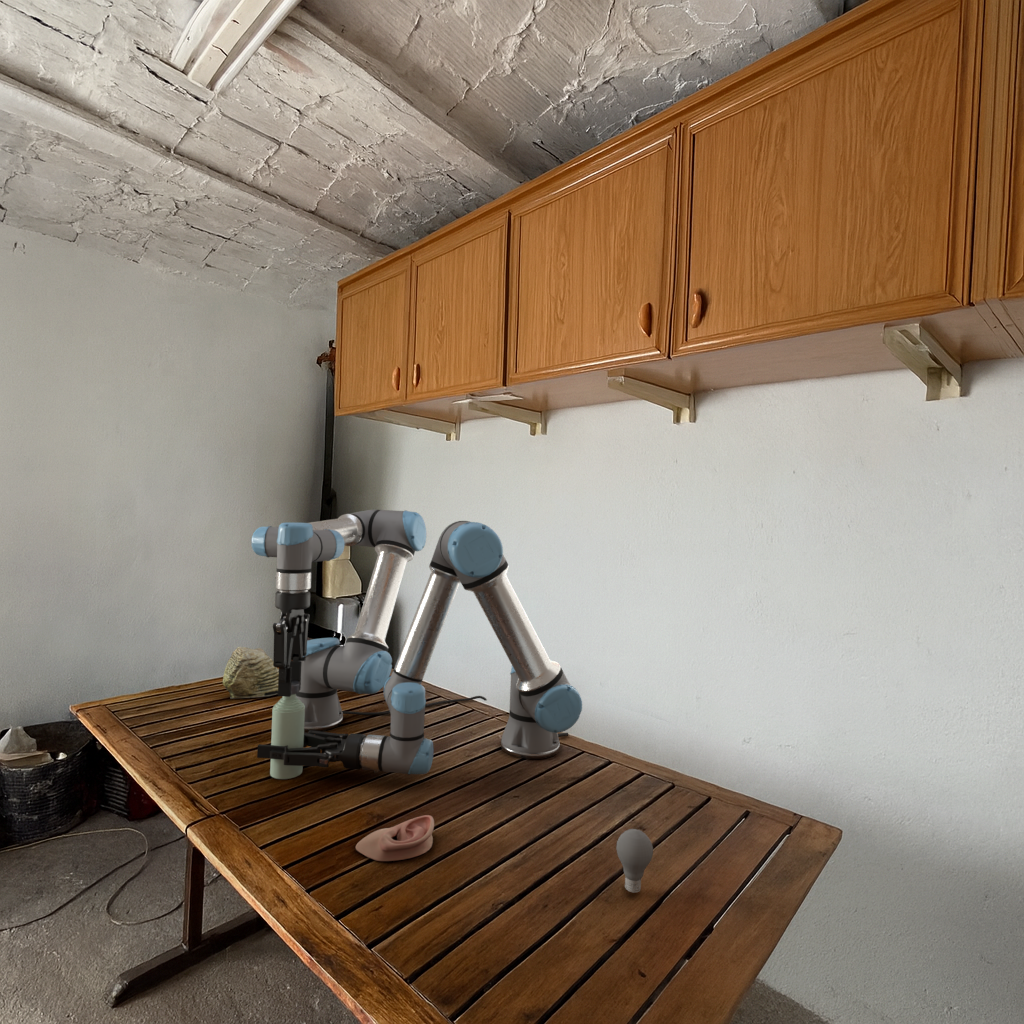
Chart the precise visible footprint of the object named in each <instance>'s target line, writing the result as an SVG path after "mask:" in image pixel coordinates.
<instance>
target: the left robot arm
mask: <svg viewBox="0 0 1024 1024" xmlns="http://www.w3.org/2000/svg"><path fill="white" fill-rule="evenodd" d="M426 543H427V528H426V523H425V520H424V518H423V516H422V515H421V514H420V513H418V512H416V511H409V510H406V509H405V510H392V509H391V510H390V509H376V508H375V509H374V508H373V509H367V510H360V511H356V512H350V513H344V514H341V515H340V516H338V518H332V519H326V520H319V521H311V522H296V521H295V522H292V521H291V522H281V523H280V524H279V525H278V526H272V525H269V526H259V527H258V528H256V529H255V530H254V532H253V533H252V536H251V549H252V551H253V553H255V554H256V555H257V556H260V557H266V558H276V574H275V575H274V578H275V589H276V592H275V595H274V597H275V599H274V607H275V608H276V609H278V610H280V615H279V621H278V622H273V624H272V631H273V657H272V660H273V666H274V667H276V668H278V669H279V678H278V694H277V696H278V697H283V696H285V697H290V696H291V680H296V681H299V692H298V693H297V694H296V697H297V698H298V699H299V700H300V701H301V702H302V703H304V706H305V717H304V733H309V731H310V730H313V731H321V732H326V731H329V730H332V729H335V728H337V727H339V726H340V725H342V723H343V722H344V715H356V716H381V715H391V714H390V711H389V710H386V711H371V712H370V711H369V712H368V711H367V712H366V711H365V712H361V711H352V710H351V711H349V710H343V709H342V706H341V702H340V699H339V695H338V691H344V692H351V693H356V694H358V695H363V694H364V695H373V694H376V693H378V692H380V690H382V689H384V684H385V682H386V680H387V679H388V678H389V677H390V676H391V674H392V668H393V665H392V663H393V658H392V656H391V654H390V652H388V651H389V646H388V644H387V643H386V638H387V634H388V631H389V628H390V623H391V619H392V617H393V612H394V610H395V606H396V603H397V598H398V594H399V591H400V588H401V584H402V581H403V577H404V574H405V570H406V567H407V563H409V562H411V561H412V560H413V559H414V556H415V552H420V551H422V550H423V549H424V548H425V546H426ZM353 546H359V547H368V548H374V551H375V553H376V554H377V557H376V560H375V563H374V568H373V570H372V574H371V577H370V581H369V584H368V588H367V591H366V594H365V597H364V600H363V605H362V607H361V611H360V613H359V617H358V620H357V624H356V627H355V630H354V632H353V634H350V635H349V636H347V638H346V641H345V644H344V645H340V644H341V641H340V639H339V638H337V637H321V638H313V639H308V635H309V634H308V633H309V632H308V631H309V621H310V614H309V613H305V610H306V609H308V608H310V606H311V592H310V591H309V590H310V589H311V588H312V563H316V562H330V561H333V560H336V559H338V558H339V557H341V556H342V554H343V553H344V550H345V547H353ZM477 699H481V700H483V701H484V702H485V701H488V699H487V698H486V697H484V696H483V695H476V696H471V697H465V698H455V699H446V700H440V701H439V700H438V701H434V702H430V703H426V704H425V708H427V707H431V706H437V705H443V704H449V703H457V702H458V703H459V702H468V701H472V700H473V701H474V700H477Z"/></svg>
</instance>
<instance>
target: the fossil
mask: <svg viewBox="0 0 1024 1024" xmlns="http://www.w3.org/2000/svg"><path fill="white" fill-rule="evenodd" d="M222 676H223V677H222V685H223V687H224V688H225V690H226V691H228V693H229V698H230V699H250V698H264V697H271V696H275V695H278V678H279V668H278V667H274V666H273V658H271V657H270V656H269V655H268V654H267V653H266V652H265V650H264V649H263V648H260V647H258V648H251V647H247V646H246V647H245V646H238V647H237V648H236V649H235V650H233V651H232V653H231V656H230V657H229V659H228V660H227V663H226V666H225V668H224V671H223V675H222Z"/></svg>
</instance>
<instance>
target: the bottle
mask: <svg viewBox="0 0 1024 1024" xmlns="http://www.w3.org/2000/svg"><path fill="white" fill-rule="evenodd" d="M271 710H272V713H271V740H270V745H275V746H287V745H288V749H290V748H304V747H303V744H304V733H305V732H304V717H305V706H304V703H302V702H301V701H300V700H299V699H298V698H297V697H296V694H293V695H291V696H290V697H285V696H282V697H281V698H280V699H279V700H278V701H277V702H276V703H275V704H274V705H273V707H272V709H271ZM269 766H270V767H269V768H270V769H269V775H270V777H271V778H274V779H276V780H288V779H289V780H290V779H293V778H296V777H299V776H300V775H301V774H303V767H304V766H292V765H284V760H280V759H270V765H269Z"/></svg>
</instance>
